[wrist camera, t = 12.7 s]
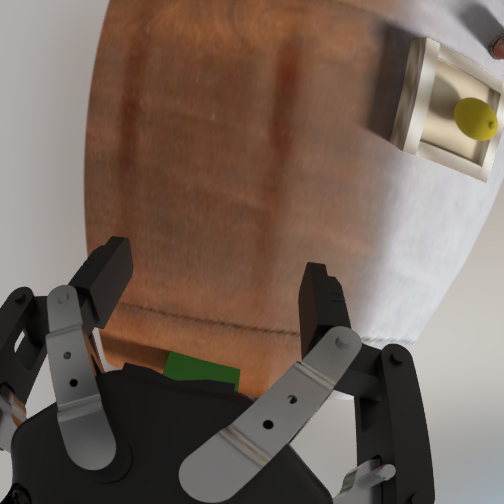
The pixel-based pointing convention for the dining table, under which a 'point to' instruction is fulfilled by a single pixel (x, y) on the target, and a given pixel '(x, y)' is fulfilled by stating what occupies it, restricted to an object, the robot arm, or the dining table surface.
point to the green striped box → (198, 370)
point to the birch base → (445, 108)
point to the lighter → (497, 47)
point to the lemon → (475, 119)
